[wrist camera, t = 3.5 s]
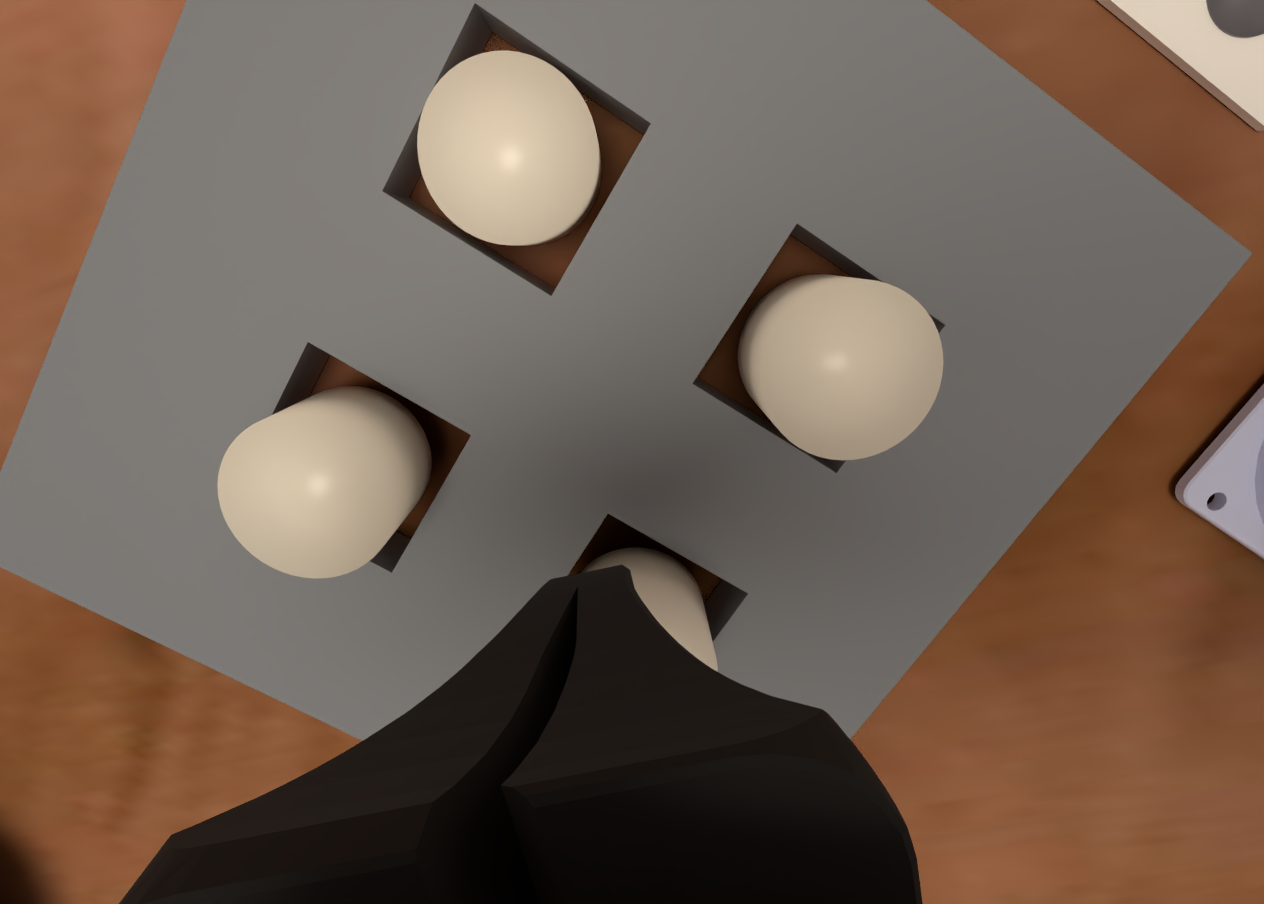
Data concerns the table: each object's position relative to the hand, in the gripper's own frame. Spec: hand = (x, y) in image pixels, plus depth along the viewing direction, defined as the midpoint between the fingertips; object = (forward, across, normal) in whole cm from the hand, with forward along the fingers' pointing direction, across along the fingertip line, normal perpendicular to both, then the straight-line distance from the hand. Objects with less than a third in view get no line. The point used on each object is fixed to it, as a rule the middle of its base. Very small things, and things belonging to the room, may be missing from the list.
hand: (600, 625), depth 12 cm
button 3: (+8, 0, -8) cm, 11 cm away
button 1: (+6, -6, -2) cm, 9 cm away
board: (+8, 0, -2) cm, 8 cm away
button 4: (+6, +6, -2) cm, 9 cm away
